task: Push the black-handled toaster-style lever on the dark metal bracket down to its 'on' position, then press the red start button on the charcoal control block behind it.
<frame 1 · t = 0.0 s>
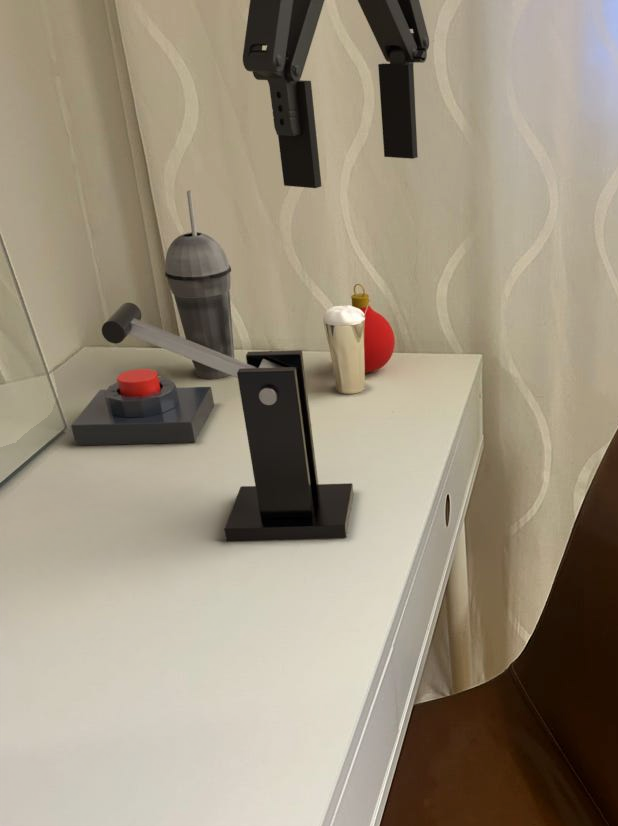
hand: (355, 171, 74), 26 cm above the table, tool pointing down, fingers open, 13 cm apart
milkshake: (354, 390, 110), on the table
christmas ornament: (366, 372, 115), on the table
button: (138, 383, 99), point 4 cm above the table, slide at 0.1 cm
control block: (148, 425, 102), on the table
lever: (202, 354, 76), point 14 cm above the table, hinge at 25.0°
beverage cup: (216, 373, 115), on the table
bracket: (292, 517, 84), on the table
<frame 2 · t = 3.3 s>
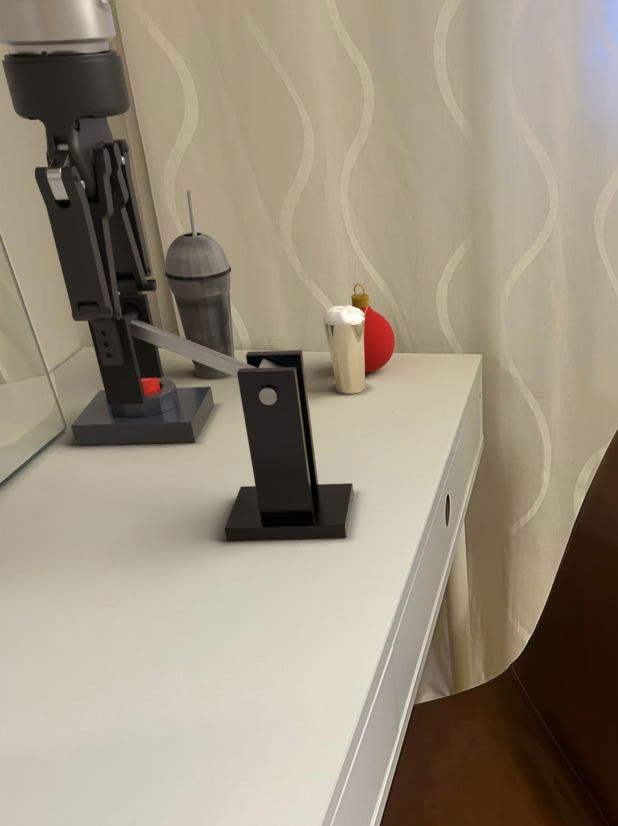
hand: (136, 388, 77), 12 cm above the table, tool pointing down, fingers closed on lever, 5 cm apart
lever: (202, 354, 76), point 14 cm above the table, hinge at 25.0°, touching gripper
everything else where it was.
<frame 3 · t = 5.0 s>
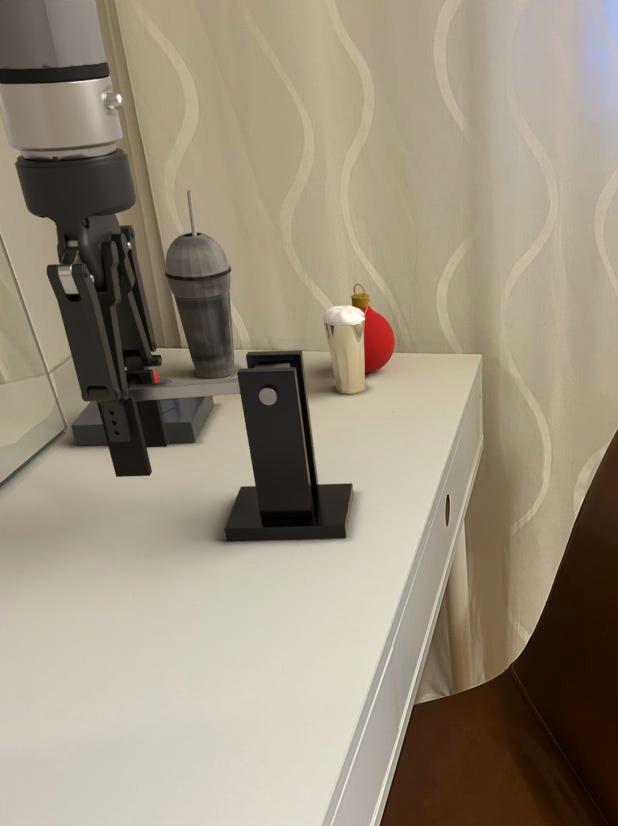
hand: (143, 459, 81), 6 cm above the table, tool pointing down, fingers closed on lever, 5 cm apart
lever: (202, 388, 77), point 12 cm above the table, hinge at -2.5°, touching gripper
everything else where it was.
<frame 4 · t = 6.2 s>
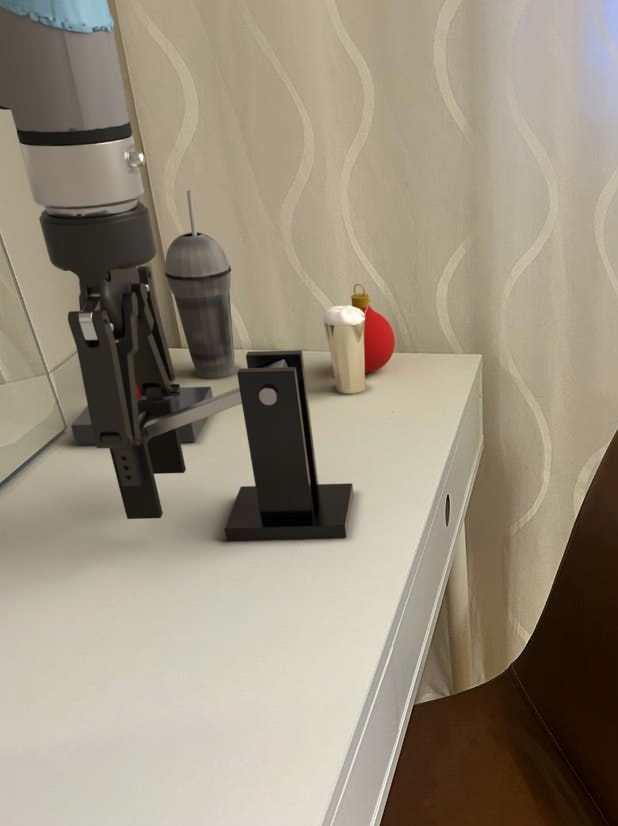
hand: (157, 492, 82), 3 cm above the table, tool pointing down, fingers open, 8 cm apart
lever: (209, 407, 78), point 10 cm above the table, hinge at -18.8°
everything else where it was.
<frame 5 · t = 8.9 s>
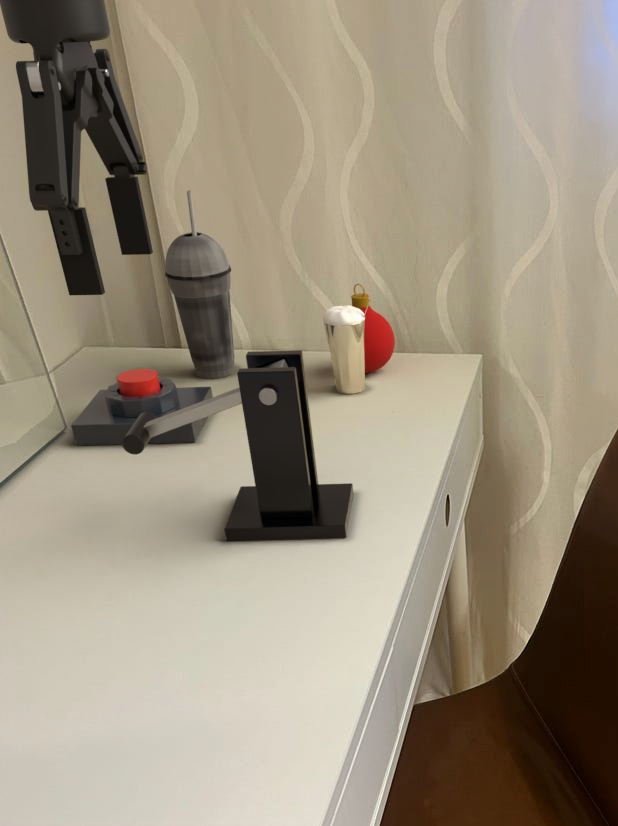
hand: (114, 273, 85), 17 cm above the table, tool pointing down, fingers open, 13 cm apart
nothing on the table moved.
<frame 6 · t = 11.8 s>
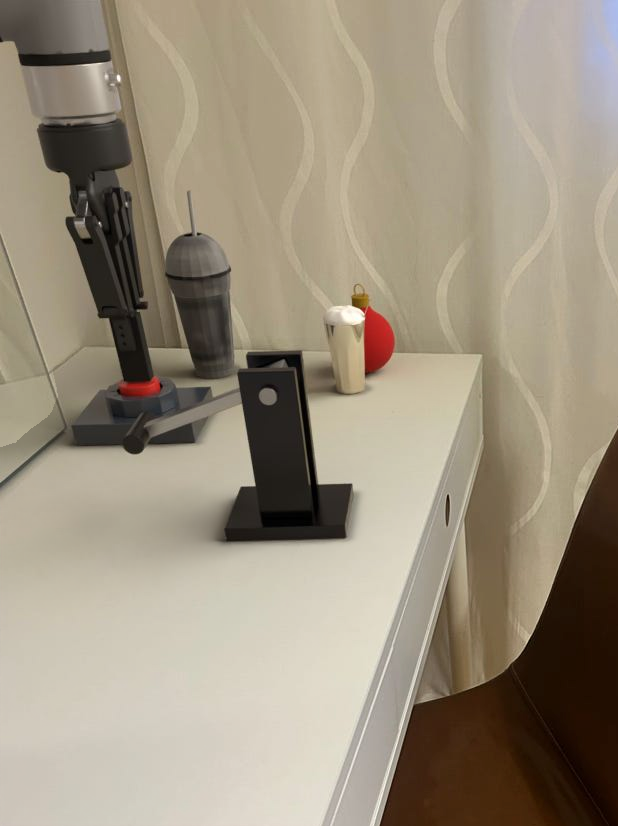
hand: (139, 378, 99), 5 cm above the table, tool pointing down, fingers closed
button: (140, 389, 100), point 4 cm above the table, slide at -0.5 cm, touching gripper
everything else where it was.
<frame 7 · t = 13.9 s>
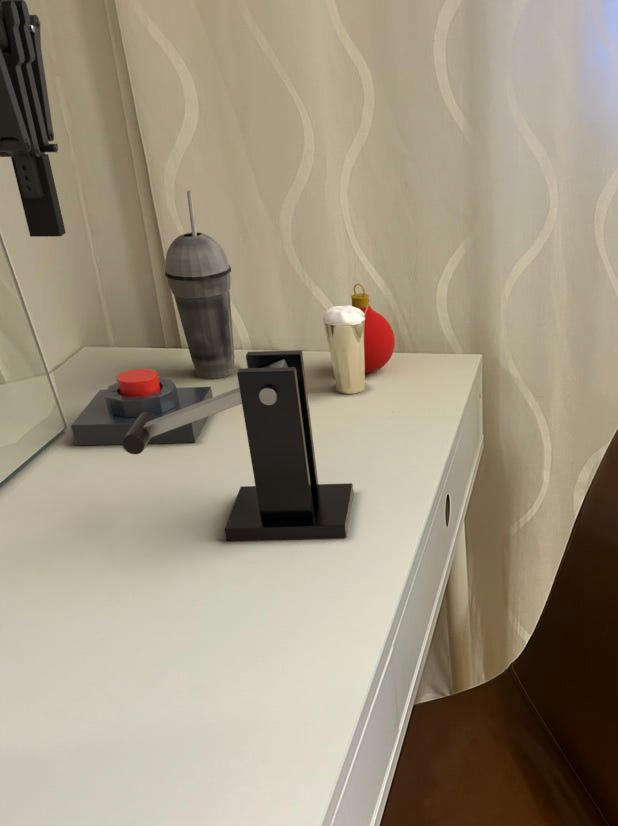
hand: (48, 234, 88), 20 cm above the table, tool pointing down, fingers closed
button: (138, 383, 99), point 4 cm above the table, slide at 0.1 cm
everything else where it was.
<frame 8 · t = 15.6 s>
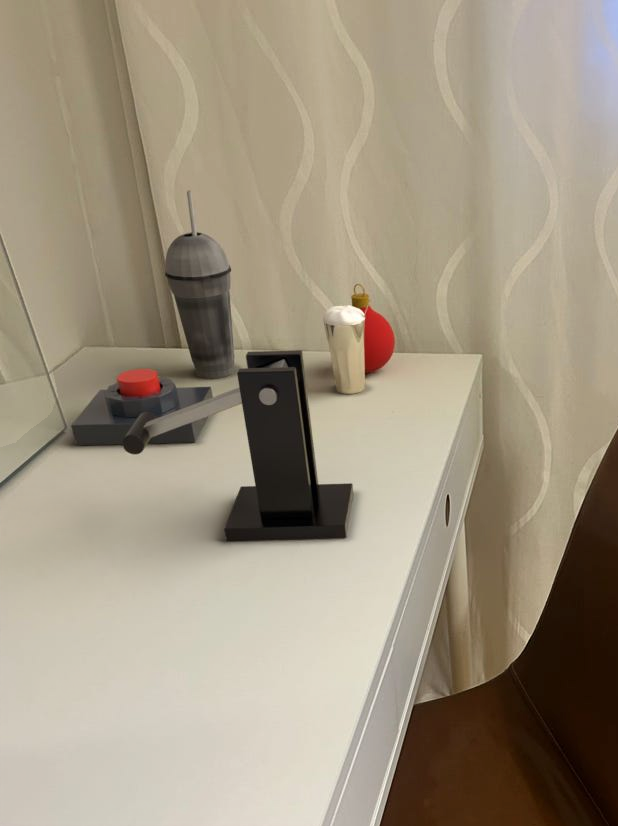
nothing on the table moved.
at the end: lever at -19° (first picture: +25°); button pushed in 1.0 cm at the most during the clip, back to where it started at the end; button slide at 0.1 cm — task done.
